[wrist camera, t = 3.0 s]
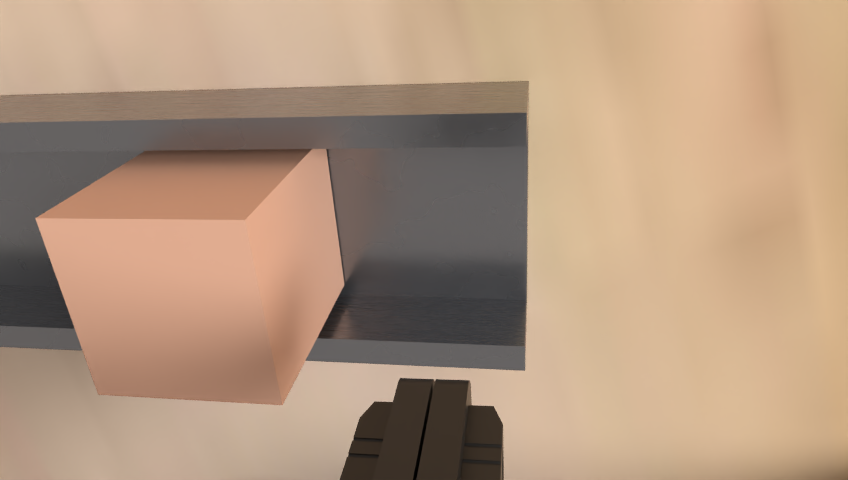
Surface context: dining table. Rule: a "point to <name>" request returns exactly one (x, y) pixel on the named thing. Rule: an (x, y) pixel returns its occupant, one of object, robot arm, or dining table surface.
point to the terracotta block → (199, 271)
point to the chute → (352, 196)
